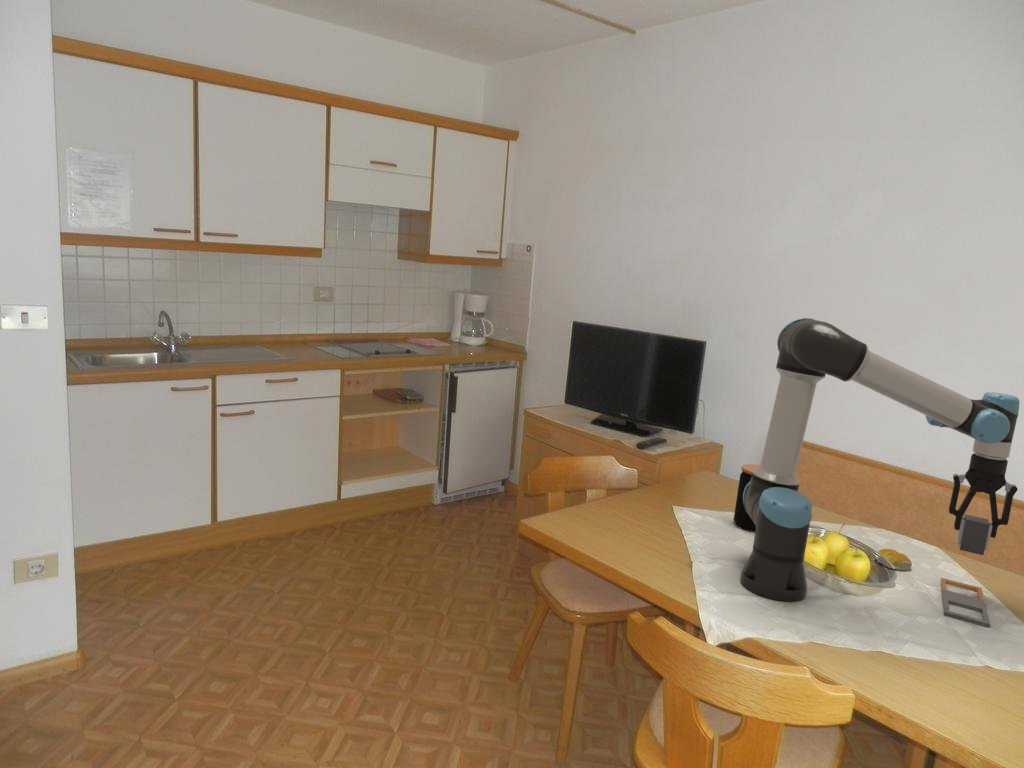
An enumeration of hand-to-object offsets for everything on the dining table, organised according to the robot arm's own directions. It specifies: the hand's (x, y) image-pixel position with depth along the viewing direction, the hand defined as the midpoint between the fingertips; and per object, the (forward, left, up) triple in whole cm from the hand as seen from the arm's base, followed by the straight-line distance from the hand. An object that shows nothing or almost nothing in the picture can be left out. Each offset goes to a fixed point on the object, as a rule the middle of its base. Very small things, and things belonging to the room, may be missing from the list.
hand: (971, 545), depth 178 cm
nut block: (0, 0, -1) cm, 1 cm away
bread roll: (+8, +16, -13) cm, 22 cm away
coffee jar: (+11, +54, -13) cm, 57 cm away
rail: (-7, 0, -13) cm, 14 cm away
